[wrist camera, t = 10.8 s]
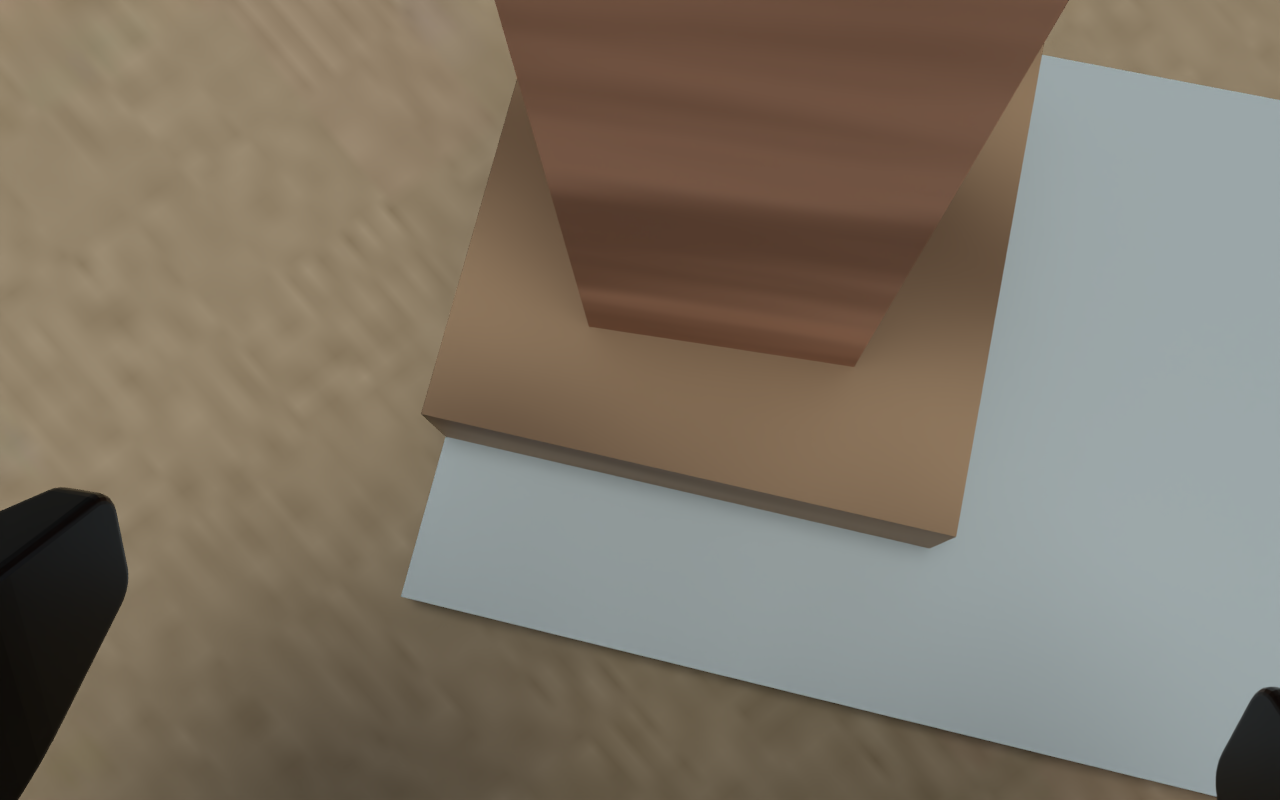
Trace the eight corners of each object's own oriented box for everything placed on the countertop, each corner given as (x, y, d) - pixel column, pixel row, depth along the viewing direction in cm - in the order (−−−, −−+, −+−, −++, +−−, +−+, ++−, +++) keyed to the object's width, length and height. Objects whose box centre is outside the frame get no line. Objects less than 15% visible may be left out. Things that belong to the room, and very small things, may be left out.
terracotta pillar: (854, 367, 19) (1170, -174, 7) (588, 326, 19) (421, -258, 7) (886, 121, 20) (1214, -747, 8) (633, 87, 20) (555, -796, 8)
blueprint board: (1401, 841, 20) (1438, 851, 19) (414, 599, 21) (400, 596, 20) (1461, 164, 22) (1497, 141, 21) (582, -6, 24) (577, -34, 23)
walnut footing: (929, 548, 20) (955, 536, 18) (445, 436, 21) (421, 413, 19) (1012, 96, 22) (1043, 41, 20) (565, 9, 23) (554, -53, 21)
